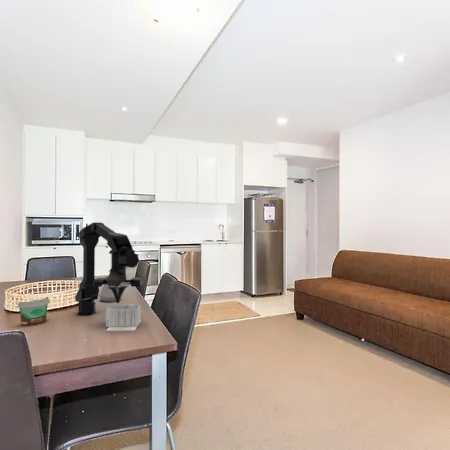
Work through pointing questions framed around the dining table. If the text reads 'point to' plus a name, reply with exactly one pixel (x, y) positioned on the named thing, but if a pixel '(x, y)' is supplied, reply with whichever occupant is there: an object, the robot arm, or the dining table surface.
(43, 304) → the food container
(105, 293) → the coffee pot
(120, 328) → the white flat slab
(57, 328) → the dining table surface
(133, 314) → the supplement box
